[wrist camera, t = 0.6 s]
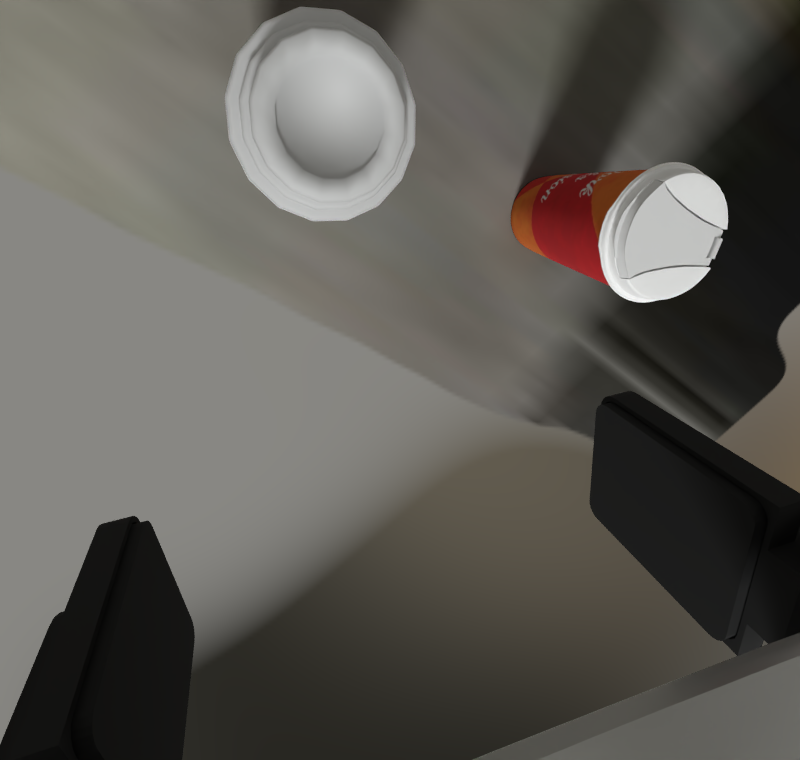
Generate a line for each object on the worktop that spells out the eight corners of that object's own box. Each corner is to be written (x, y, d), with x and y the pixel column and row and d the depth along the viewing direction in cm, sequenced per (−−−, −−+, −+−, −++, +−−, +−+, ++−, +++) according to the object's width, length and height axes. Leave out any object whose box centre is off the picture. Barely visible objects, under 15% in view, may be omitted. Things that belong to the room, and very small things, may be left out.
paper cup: (598, 173, 40) (758, 180, 27) (567, 270, 42) (700, 316, 30) (512, 150, 37) (646, 145, 25) (485, 254, 40) (594, 297, 27)
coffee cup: (327, 231, 36) (362, 262, 25) (203, 152, 32) (183, 148, 21) (396, 114, 34) (466, 93, 23) (274, 13, 30) (291, -66, 19)
